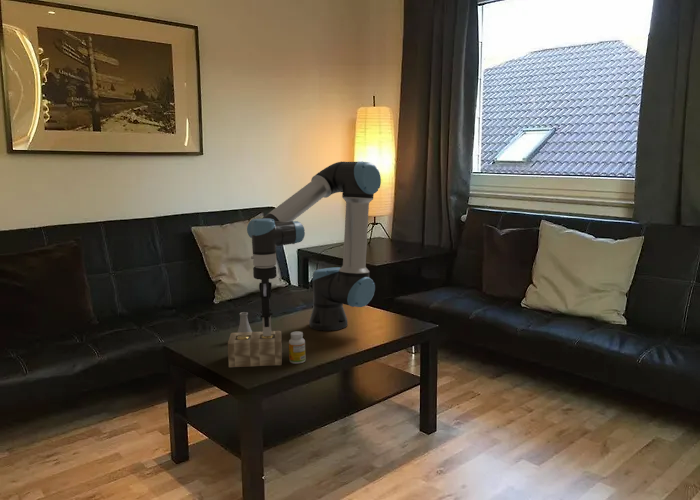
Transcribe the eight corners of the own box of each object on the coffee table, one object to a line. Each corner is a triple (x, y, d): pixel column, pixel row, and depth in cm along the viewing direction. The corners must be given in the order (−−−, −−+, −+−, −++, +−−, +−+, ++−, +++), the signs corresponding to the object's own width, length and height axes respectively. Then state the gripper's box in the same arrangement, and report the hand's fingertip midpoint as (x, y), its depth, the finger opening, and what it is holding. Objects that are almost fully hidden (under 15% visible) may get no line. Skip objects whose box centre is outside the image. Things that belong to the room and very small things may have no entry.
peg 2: (274, 356, 211) (273, 334, 210) (274, 360, 207) (273, 337, 206) (262, 357, 211) (261, 334, 209) (262, 361, 207) (261, 338, 205)
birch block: (281, 352, 215) (281, 330, 214) (281, 364, 203) (280, 341, 202) (232, 355, 214) (231, 332, 212) (228, 367, 202) (227, 343, 200)
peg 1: (250, 357, 210) (249, 335, 209) (249, 361, 206) (248, 338, 205) (238, 358, 210) (237, 335, 208) (237, 362, 206) (236, 339, 205)
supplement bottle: (289, 358, 209) (288, 330, 208) (305, 358, 210) (304, 330, 208) (289, 364, 204) (288, 335, 202) (305, 363, 204) (304, 335, 203)
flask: (250, 342, 227) (249, 316, 226) (231, 341, 229) (230, 315, 227) (257, 336, 234) (256, 311, 233) (239, 335, 236) (238, 310, 234)
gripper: (254, 262, 210) (256, 330, 213) (251, 270, 197) (254, 341, 201) (276, 262, 210) (278, 329, 214) (275, 269, 197) (278, 340, 201)
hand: (267, 335), depth 207 cm, fingers closed
